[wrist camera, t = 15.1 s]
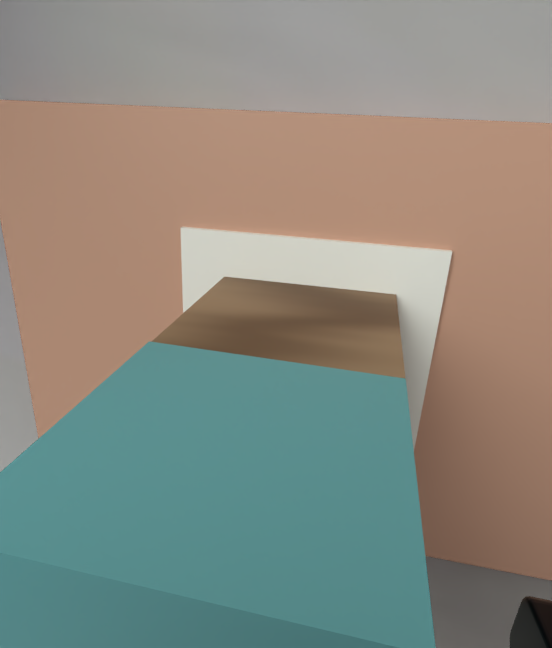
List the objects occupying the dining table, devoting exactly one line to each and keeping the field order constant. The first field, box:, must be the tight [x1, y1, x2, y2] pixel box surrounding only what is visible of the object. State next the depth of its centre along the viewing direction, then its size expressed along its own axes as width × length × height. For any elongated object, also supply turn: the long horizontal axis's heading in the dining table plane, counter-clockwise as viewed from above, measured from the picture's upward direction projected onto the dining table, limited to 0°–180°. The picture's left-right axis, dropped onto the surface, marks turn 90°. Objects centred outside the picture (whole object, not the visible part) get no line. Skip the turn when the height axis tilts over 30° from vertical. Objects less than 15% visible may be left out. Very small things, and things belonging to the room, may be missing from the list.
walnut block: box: [151, 277, 405, 378], centre depth 12 cm, size 5×5×5 cm
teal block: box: [0, 341, 436, 648], centre depth 8 cm, size 5×5×5 cm
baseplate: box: [0, 100, 552, 581], centre depth 15 cm, size 20×14×1 cm
